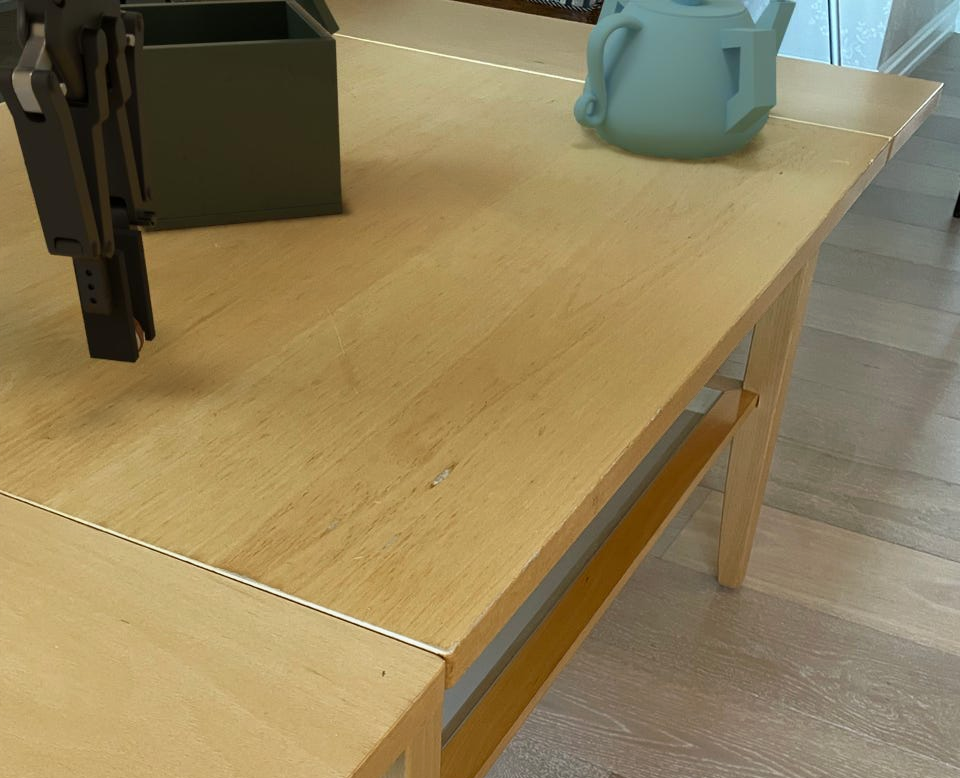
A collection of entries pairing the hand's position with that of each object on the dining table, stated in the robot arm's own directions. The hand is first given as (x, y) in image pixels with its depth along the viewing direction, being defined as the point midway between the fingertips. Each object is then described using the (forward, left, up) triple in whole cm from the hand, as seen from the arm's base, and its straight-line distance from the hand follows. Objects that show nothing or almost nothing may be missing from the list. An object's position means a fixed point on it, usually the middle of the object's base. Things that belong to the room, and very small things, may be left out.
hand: (123, 346), depth 69 cm
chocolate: (0, 0, -1) cm, 1 cm away
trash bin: (-4, +33, -2) cm, 33 cm away
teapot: (+33, +59, -3) cm, 68 cm away
